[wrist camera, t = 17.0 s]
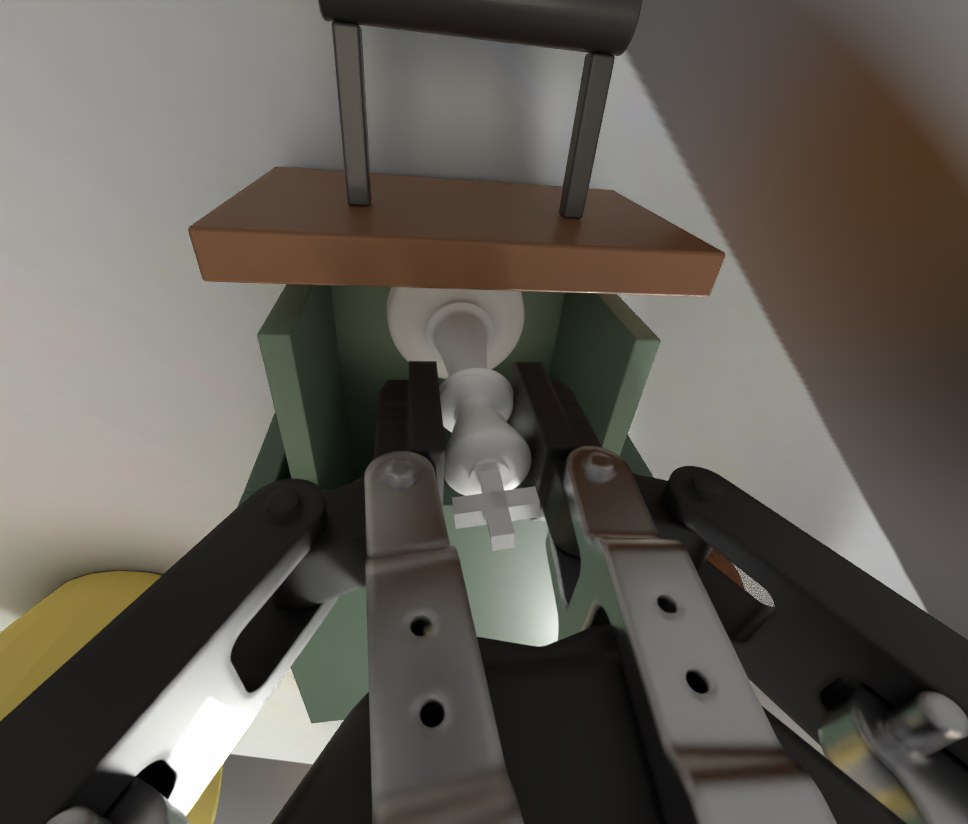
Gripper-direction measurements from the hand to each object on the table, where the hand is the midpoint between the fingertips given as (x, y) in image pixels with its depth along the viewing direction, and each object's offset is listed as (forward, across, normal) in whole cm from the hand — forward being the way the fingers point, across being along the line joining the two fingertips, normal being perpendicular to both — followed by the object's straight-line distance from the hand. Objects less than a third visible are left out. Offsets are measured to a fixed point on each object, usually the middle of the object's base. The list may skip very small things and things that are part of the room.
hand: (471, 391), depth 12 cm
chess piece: (+5, 0, 0) cm, 5 cm away
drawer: (+8, 0, +1) cm, 8 cm away
